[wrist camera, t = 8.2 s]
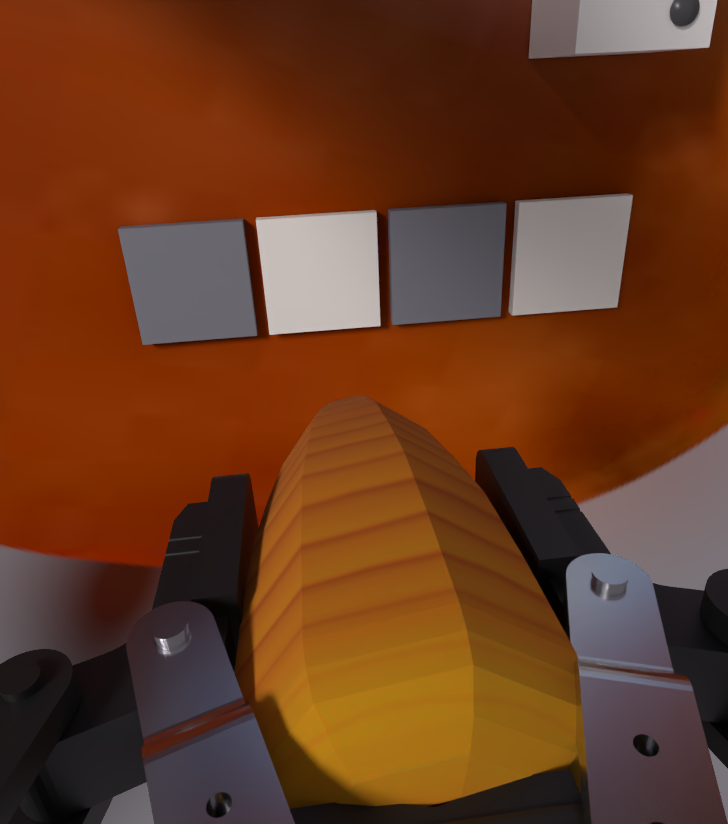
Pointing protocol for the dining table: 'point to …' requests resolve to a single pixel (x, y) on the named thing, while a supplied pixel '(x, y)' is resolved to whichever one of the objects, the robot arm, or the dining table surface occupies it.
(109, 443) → the dining table surface
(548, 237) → the tile track
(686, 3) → the ivory die
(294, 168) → the dining table surface
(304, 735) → the carrot
